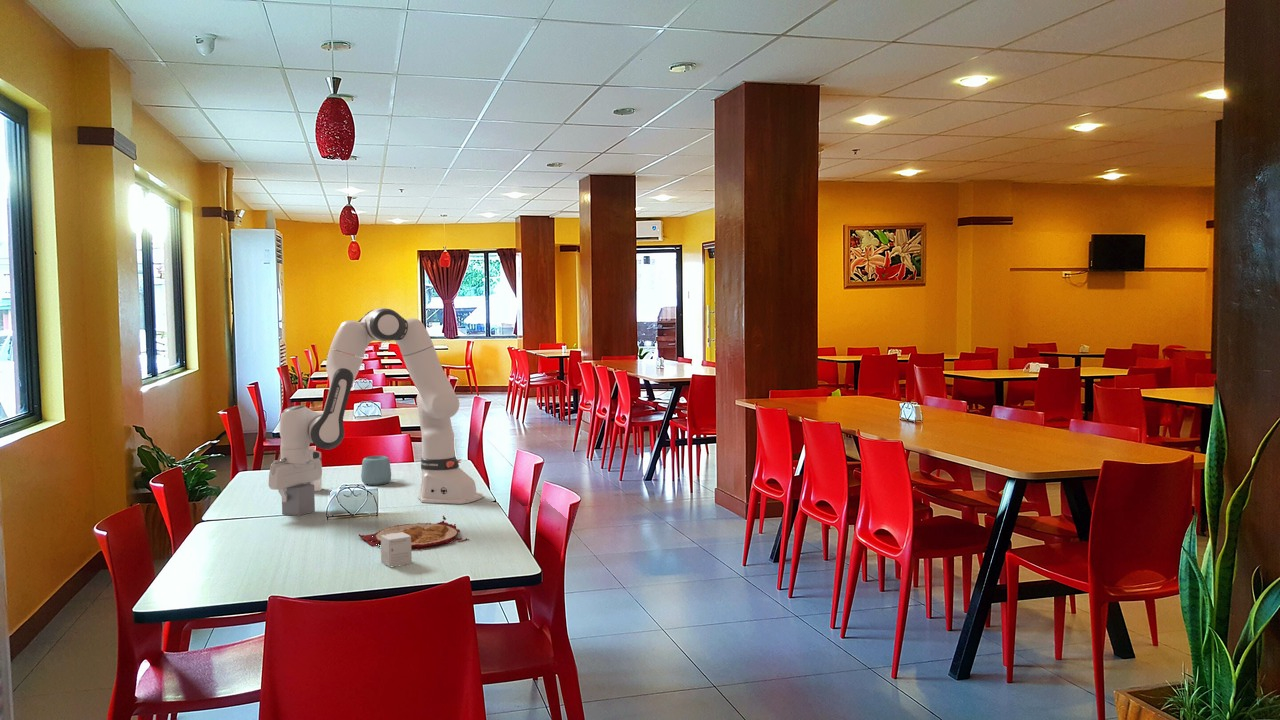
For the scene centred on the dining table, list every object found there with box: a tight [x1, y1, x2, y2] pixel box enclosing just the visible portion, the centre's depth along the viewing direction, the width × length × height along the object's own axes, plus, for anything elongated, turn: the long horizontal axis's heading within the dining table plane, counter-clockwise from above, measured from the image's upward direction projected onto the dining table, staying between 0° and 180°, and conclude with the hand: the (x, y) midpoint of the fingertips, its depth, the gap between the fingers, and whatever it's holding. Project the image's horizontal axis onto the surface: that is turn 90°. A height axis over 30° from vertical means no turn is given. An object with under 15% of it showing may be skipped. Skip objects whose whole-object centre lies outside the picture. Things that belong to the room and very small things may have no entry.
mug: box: [360, 455, 392, 486], centre depth 337 cm, size 15×11×10 cm
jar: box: [303, 457, 323, 492], centre depth 323 cm, size 9×8×12 cm
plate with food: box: [358, 515, 470, 551], centre depth 253 cm, size 25×26×4 cm
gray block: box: [281, 484, 316, 517], centre depth 287 cm, size 7×7×9 cm
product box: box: [380, 532, 413, 568], centre depth 229 cm, size 6×6×7 cm
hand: (296, 498), depth 287 cm, fingers open, 8 cm apart
